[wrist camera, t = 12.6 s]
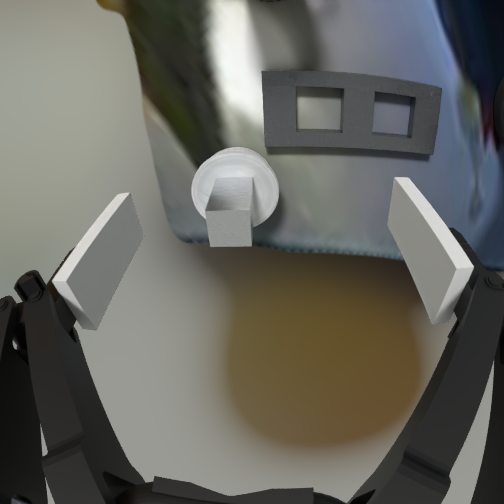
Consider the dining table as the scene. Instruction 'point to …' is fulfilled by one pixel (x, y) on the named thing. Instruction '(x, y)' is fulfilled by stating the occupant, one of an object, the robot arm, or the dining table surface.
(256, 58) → the dining table surface
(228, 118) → the dining table surface
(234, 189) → the matte gray foam brick
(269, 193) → the ramekin
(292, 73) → the grey flat rectangular block
